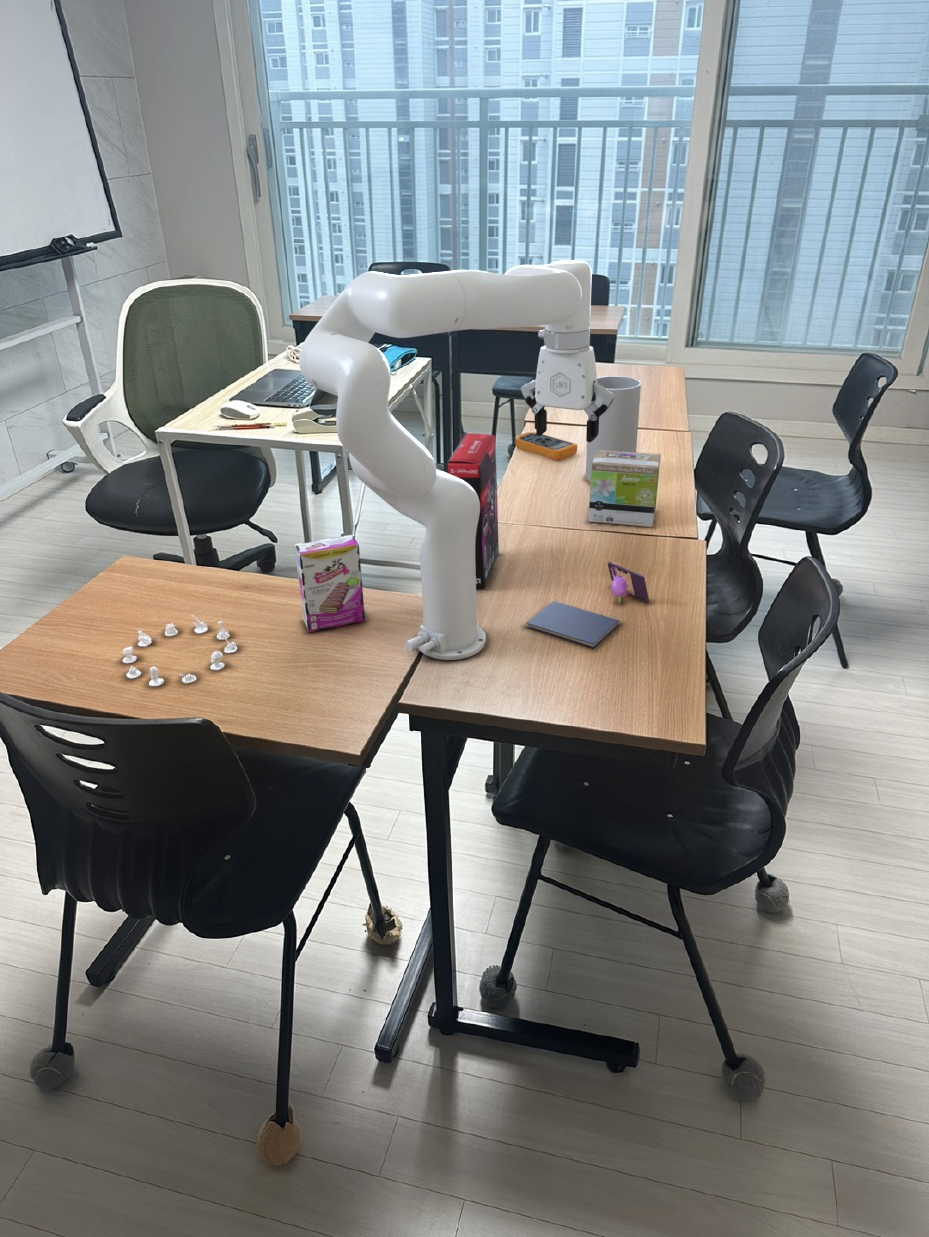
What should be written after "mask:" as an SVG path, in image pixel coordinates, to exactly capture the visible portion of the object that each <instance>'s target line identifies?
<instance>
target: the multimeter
mask: <svg viewBox="0 0 929 1237" xmlns="http://www.w3.org/2000/svg"><path fill="white" fill-rule="evenodd" d="M514 442H515V443H514V444H515V448H517V449H519V450H522V451H525V452H529V453H532V454H536V455H539V456H542V457H545V458H548V459H550V460H553V461H556V462H558V461H563V460H565V459H568V458H570V457H573V456H575V455H576V454H577V453H578V444H577V443H575V442H571V441H567V440H563V439H561V438H557V437H553V436H550V435H547V434H545V433H543V434H542V435H540V436H537V435H536V431H529V432H524V433H522V434H519V435H517V436H515V441H514Z"/></svg>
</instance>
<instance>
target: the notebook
mask: <svg viewBox="0 0 929 1237" xmlns="http://www.w3.org/2000/svg"><path fill="white" fill-rule="evenodd" d="M619 622H620V620H619V619H617V618H612V617H609V616H606V615H603V614H599V613H596V612H592V611H589V610H586V609H582V608H579V607H576V606H572V605H568V604H565V603H562V602H558V601H555V600H553V601H552V602H551V603H549V604H548V605H546V606H545V607H544V608H543V609H542V610H541V611H539V612H538V613H537V614H535V615H534V616H533V617H531V619H529V620H528V621H527V622H525V624H527V625H526V627H525V628H527V629H529V630H530V629H531V630H533V631H537V632H539V633H543V634H546V635H549V636H552V637H556V638H558V639H562V640H565V641H567V642H571V643H574V644H577V645H581V646H584V647H587V648H590V649H595V648H596V647H597V646H598V645H599V644H600V643H602V642H603V641H604V639H607V637H608V636H609V635H610V634H611V633H613V632H614V630H616V629H617V628H618V627H619V626H620V624H619Z"/></svg>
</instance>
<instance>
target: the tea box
mask: <svg viewBox="0 0 929 1237" xmlns="http://www.w3.org/2000/svg"><path fill="white" fill-rule="evenodd" d="M661 458H662V454H661V453H650V452H638V451H636V452H623V451H608V450H596V454H595V457H594V460H593V463H592V470H591V482H590V487H589V499H588V500H589V502H588V523H603V524H604V523H605V524H614V525H615V524H616V525H624V526H635V527H642V528H643V527H644V528H653V526H654V522H655V521H654V520H655V514H656V506H657V500H658V499H657V498H658V488H659V478H660V477H659V476H660V467H661Z"/></svg>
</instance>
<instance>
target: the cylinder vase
mask: <svg viewBox="0 0 929 1237" xmlns="http://www.w3.org/2000/svg"><path fill="white" fill-rule="evenodd" d="M597 383H598V384H599V385H601V386H602V387H604V388H605V389H607V390H608V391H610V392H612V393H613V394H614V395H615V398H614V400H613V402H612V403H611V405H610V407H609V409H608V410H607V411H605V412H604V413H603V414H602V415H601V416H600V417H599V433H598V436H597V437H596V438H595V439H594V440H593V441H592V442H587V441H586V458H585V478H586V480H587V481H588V482H589V483H591V470H592V463H593V460H594V457H595V454H596V450H608V451H623V452H637V448H638V447H637V446H638V434H639V433H638V432H639V431H638V430H639V419H640V406H641V405H640V404H641V402H640V401H641V391H642V390H641V389H642V382H641V381H640V379H638V378H637V379H636V378H634V377H629V376H621V375H608V376H599V377H597ZM595 403H596V404H597V406H598V407H600V406H601V405H602V403H603V398H602V397H600V396H599V395H597V398H596V401H595ZM587 420H589V416H588V415H587Z"/></svg>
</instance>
